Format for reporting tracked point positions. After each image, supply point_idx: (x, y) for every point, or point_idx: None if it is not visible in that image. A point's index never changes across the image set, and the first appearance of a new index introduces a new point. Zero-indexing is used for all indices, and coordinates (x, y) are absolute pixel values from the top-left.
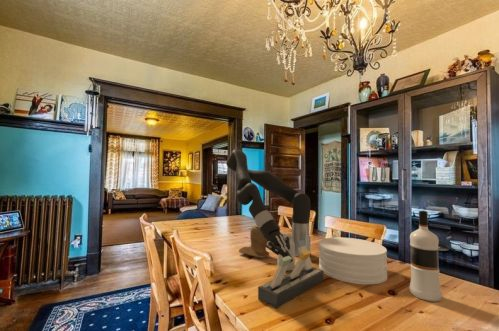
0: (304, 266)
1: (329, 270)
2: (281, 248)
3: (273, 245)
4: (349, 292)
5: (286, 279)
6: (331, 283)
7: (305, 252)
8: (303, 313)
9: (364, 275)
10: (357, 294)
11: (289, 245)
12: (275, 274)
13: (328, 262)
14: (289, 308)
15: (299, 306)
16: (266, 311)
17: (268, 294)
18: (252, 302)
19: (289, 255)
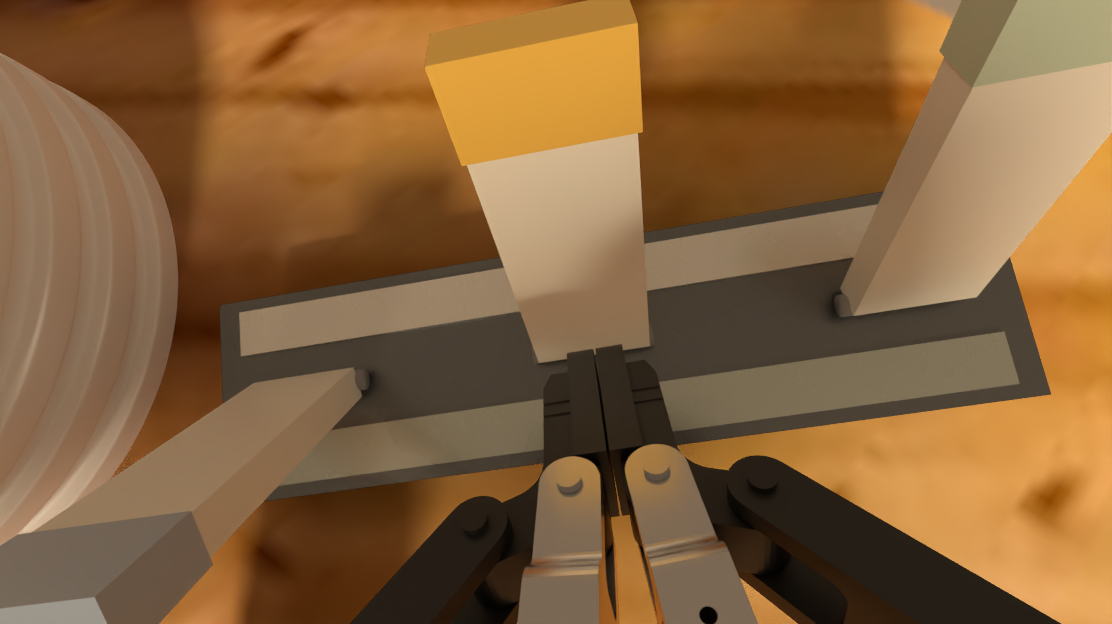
0: (346, 410)
1: (126, 341)
2: (710, 524)
3: (996, 611)
4: (306, 102)
5: (679, 362)
6: (275, 255)
7: (547, 27)
8: (792, 81)
9: (47, 84)
10: (292, 60)
11: (418, 563)
12: (1061, 182)
13: (49, 347)
14: (834, 168)
15: (752, 151)
16: None
17: None
18: None
19: (591, 398)
